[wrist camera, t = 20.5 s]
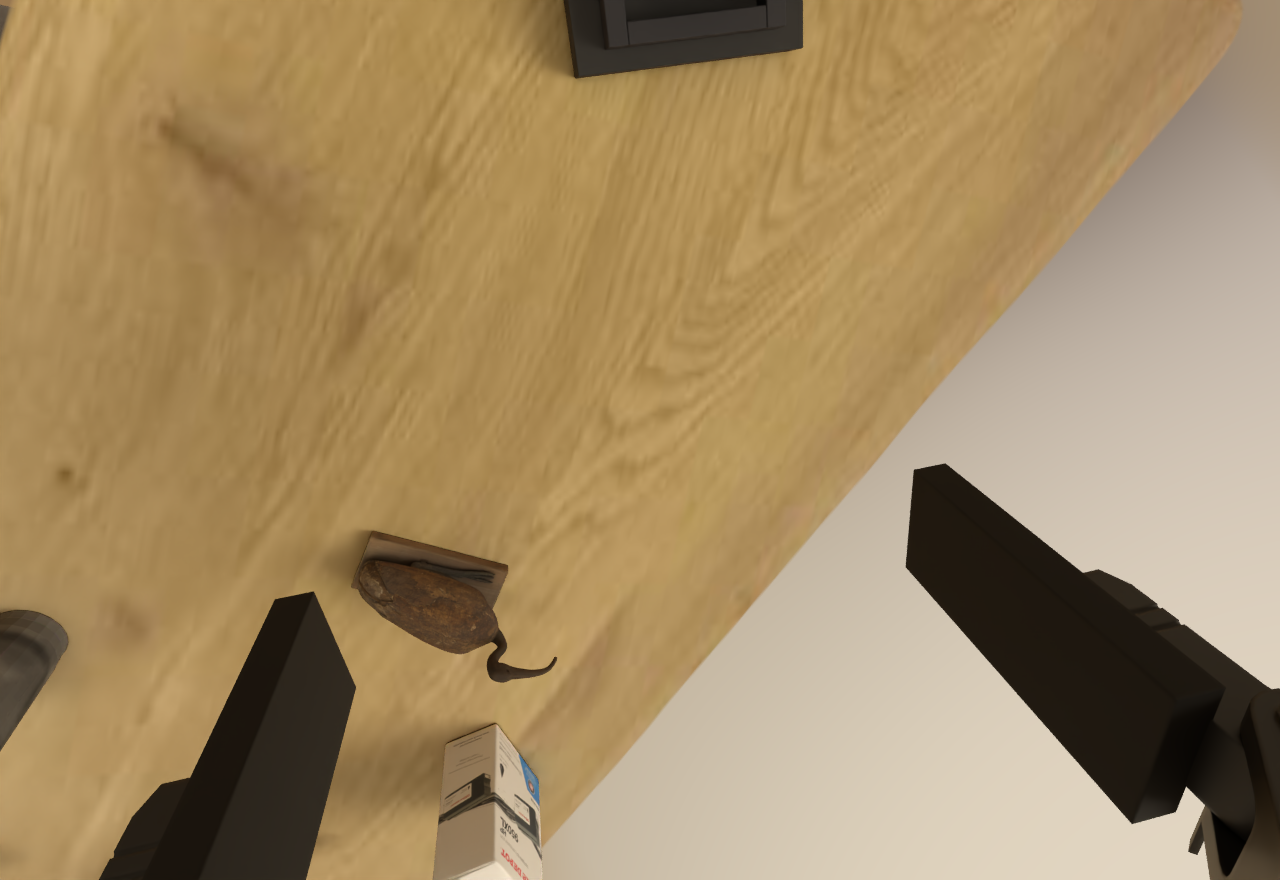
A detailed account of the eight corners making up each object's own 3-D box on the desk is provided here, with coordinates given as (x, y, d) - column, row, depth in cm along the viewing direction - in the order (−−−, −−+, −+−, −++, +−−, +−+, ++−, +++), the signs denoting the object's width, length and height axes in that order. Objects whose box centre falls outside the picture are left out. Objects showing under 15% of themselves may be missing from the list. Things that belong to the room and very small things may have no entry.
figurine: (562, 578, 50) (573, 663, 42) (541, 624, 51) (547, 714, 43) (370, 529, 45) (342, 615, 37) (352, 581, 46) (322, 674, 39)
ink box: (541, 779, 59) (548, 923, 48) (489, 801, 59) (486, 949, 48) (497, 720, 55) (495, 863, 44) (442, 743, 55) (427, 892, 44)
